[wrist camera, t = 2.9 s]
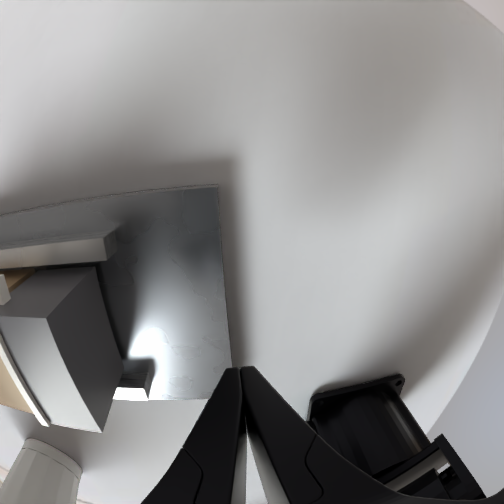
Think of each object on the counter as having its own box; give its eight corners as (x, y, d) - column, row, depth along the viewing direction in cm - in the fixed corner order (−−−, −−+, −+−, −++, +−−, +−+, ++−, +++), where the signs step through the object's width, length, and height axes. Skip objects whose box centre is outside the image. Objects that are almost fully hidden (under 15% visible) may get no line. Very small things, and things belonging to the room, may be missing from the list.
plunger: (90, 244, 10) (32, 291, 6) (124, 367, 12) (101, 437, 8) (33, 250, 9) (-28, 291, 5) (72, 364, 11) (40, 424, 7)
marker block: (34, 268, 10) (-19, 310, 6) (66, 360, 12) (35, 414, 8) (-16, 271, 10) (-63, 306, 6) (15, 354, 11) (-17, 398, 7)
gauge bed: (217, 184, 11) (216, 190, 9) (234, 381, 14) (237, 414, 12) (-73, 235, 9) (-94, 246, 7) (-30, 359, 12) (-44, 377, 10)
